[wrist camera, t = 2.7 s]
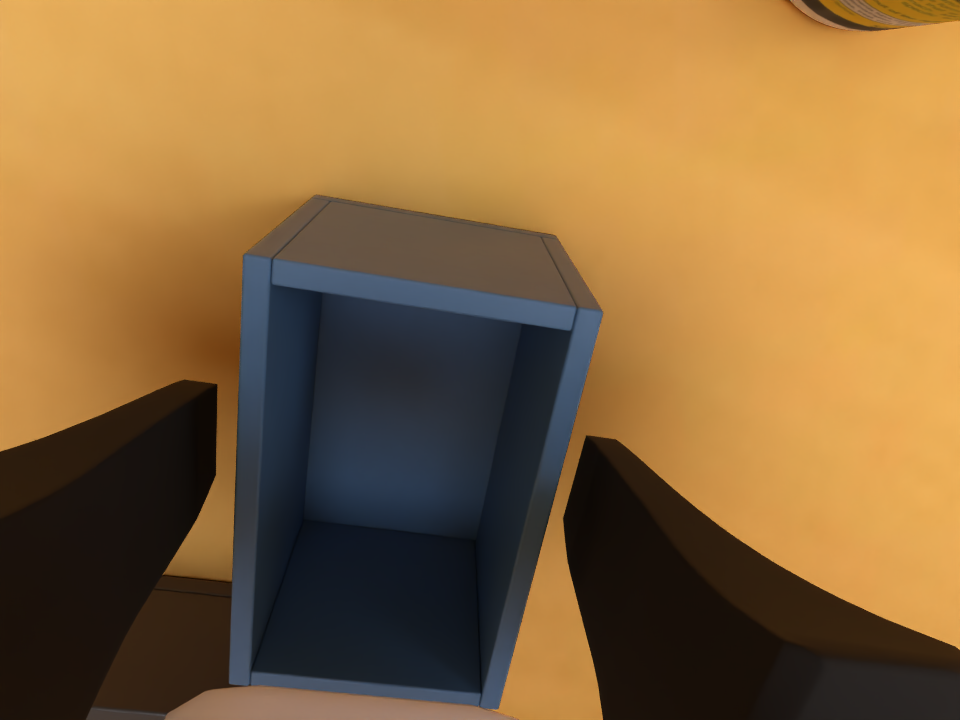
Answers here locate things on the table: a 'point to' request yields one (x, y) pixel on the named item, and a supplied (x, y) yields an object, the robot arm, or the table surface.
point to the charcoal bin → (169, 652)
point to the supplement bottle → (879, 13)
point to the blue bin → (398, 447)
